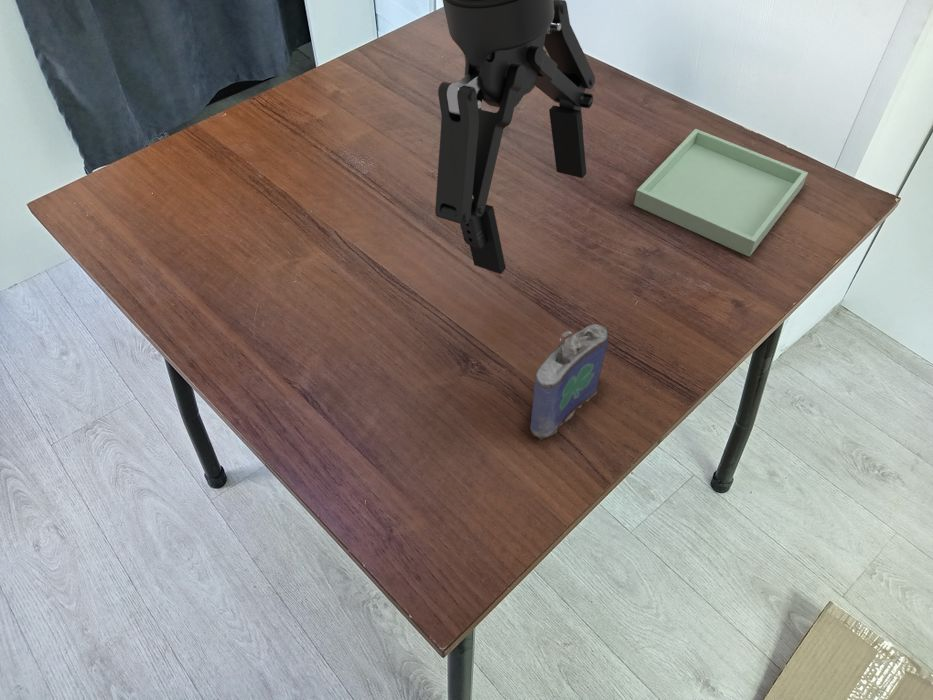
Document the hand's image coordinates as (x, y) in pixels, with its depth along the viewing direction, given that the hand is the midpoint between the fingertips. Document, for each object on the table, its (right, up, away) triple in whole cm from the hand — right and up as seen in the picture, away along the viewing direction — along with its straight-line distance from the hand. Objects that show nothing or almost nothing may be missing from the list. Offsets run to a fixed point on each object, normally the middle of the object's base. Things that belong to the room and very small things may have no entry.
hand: (532, 218), depth 68 cm
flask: (+4, -17, +9) cm, 20 cm away
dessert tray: (+25, +7, +28) cm, 39 cm away
